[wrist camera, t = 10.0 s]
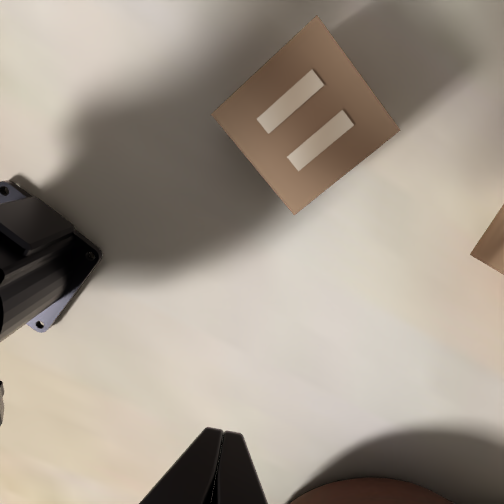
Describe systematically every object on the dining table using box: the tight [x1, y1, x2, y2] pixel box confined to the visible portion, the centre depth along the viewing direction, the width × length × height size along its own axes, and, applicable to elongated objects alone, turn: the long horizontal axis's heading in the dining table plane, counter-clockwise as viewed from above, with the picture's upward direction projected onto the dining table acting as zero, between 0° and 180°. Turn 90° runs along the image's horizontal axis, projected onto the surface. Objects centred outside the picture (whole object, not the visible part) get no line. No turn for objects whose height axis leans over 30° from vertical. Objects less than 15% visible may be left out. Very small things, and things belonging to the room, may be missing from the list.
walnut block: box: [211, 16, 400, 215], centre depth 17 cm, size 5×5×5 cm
